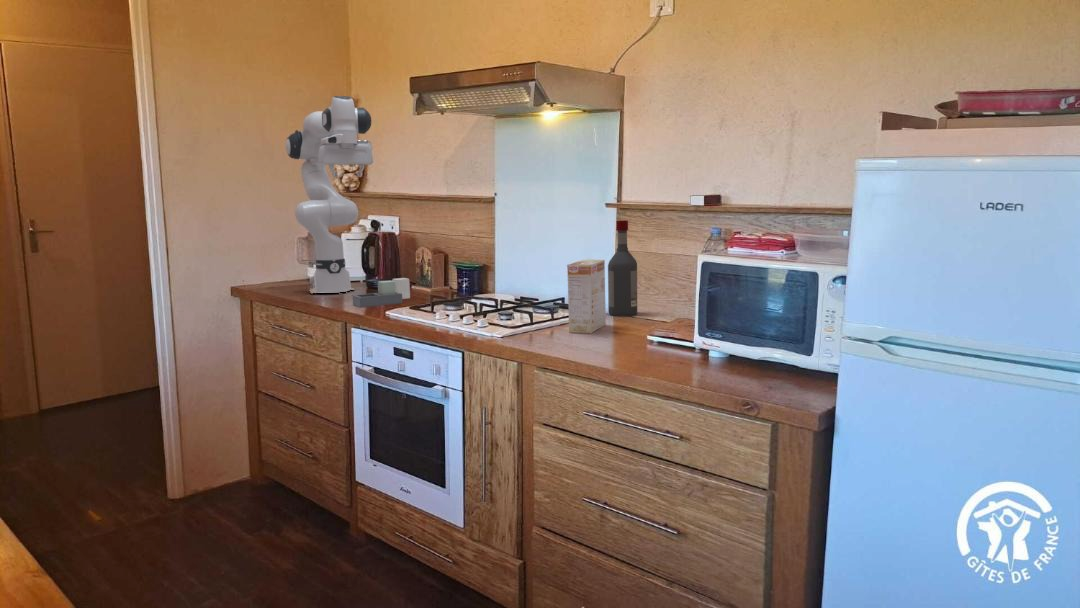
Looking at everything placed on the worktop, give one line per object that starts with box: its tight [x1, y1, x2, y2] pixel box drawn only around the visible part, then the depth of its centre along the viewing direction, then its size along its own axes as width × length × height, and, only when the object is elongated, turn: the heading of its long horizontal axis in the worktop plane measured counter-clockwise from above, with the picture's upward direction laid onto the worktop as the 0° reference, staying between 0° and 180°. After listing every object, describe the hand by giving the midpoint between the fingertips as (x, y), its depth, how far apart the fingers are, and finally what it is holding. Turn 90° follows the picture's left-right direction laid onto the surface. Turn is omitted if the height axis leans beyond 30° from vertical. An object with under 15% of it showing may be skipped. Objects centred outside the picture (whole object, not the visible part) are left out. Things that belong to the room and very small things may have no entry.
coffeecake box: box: [566, 258, 607, 334], centre depth 218 cm, size 15×7×20 cm, turn 159°
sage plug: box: [377, 280, 396, 295], centre depth 280 cm, size 5×5×8 cm
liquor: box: [607, 220, 638, 317], centre depth 242 cm, size 9×9×30 cm
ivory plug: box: [391, 277, 411, 300], centre depth 293 cm, size 5×5×8 cm
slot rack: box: [352, 292, 403, 308], centre depth 278 cm, size 8×16×4 cm, turn 121°
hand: (347, 176), depth 287 cm, fingers open, 8 cm apart
